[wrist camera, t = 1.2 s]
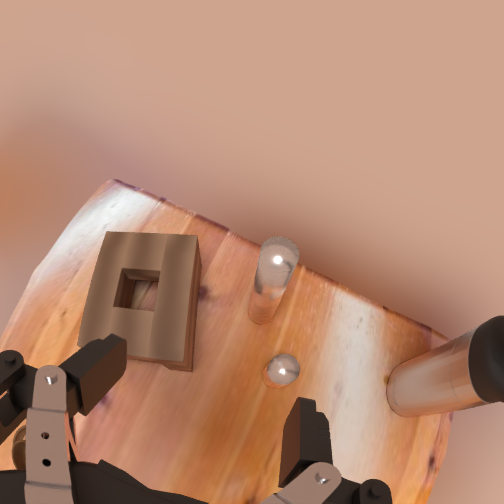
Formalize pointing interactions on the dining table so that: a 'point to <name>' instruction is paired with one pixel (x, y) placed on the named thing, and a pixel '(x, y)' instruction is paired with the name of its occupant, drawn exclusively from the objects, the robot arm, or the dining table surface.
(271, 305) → the long pin
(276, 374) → the short pin
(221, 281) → the dining table surface
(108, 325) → the block
